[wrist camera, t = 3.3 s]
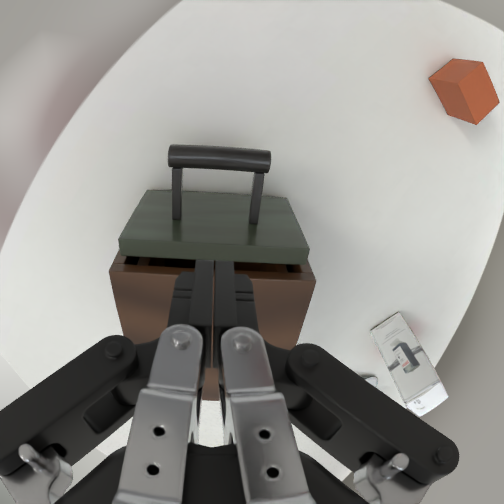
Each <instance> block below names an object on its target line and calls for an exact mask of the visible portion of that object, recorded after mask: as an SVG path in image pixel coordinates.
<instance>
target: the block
mask: <svg viewBox="0 0 504 504" xmlns="http://www.w3.org/2000/svg"><path fill="white" fill-rule="evenodd" d="M429 80H430V82H431V84H432V86H433V87H434V89H435V91H436V93H437V95H438V97H439V98H440V100H441V102H442V104H443V106H444V108H445V110H446V112H447V114H448V115H450V116H453V117H455V118H458V119H461V120H464V121H467V122H469V123H472V124H475V125H477V124H478V123H479V122H480V121H481V120H482V119H483V118H484V117H485V116H486V115H487V114H488V113H489V112H490V111H491V110H493V109H494V108H495V107H496V106H497V105H498V104H499V103H500V102H499V99H498V97H497V94H496V91H495V89H494V86H493V84H492V82H491V79H490V77H489V75H488V72H487V70H486V68H485V66H484V63H483V62H479V61H471V60H462V59H452V60H451V61H450V62H449V63H447V64H446V65H445V66H444V67H442V68H441V69H440V70H438V71H437V72H436V73H435V74H433V75H432V76H431V77H430V78H429Z"/></svg>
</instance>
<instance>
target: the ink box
mask: <svg viewBox="0 0 504 504" xmlns="http://www.w3.org/2000/svg"><path fill="white" fill-rule="evenodd" d="M370 333H371V335H372V337H373V339H374V341H375V343H376V345H377V347H378V349H379V351H380V353H381V355H382V357H383V359H384V361H385V363H386V365H387V367H388V369H389V371H390V373H391V376H392V378H393V380H394V382H395V384H396V387H397V389H398V391H399V393H400V395H401V398H402V400H403V402H404V403H405V404H406V407H408V408H409V409H410V410H411V411H412V412H413V413H415V414H416V415H417V416H422V415H424V414H425V413H427V412H429V411H430V410H432V409H434V408H435V407H436V406H438V405H439V404H440V403H442V402H443V401H444V400H445V399H447V398H448V394H447V392H446V390H445V388H444V386H443V384H442V382H441V380H440V378H439V376H438V374H437V373H436V371H435V369H434V367H433V365H432V364H431V362H430V360H429V358H428V357H427V355H426V353H425V351H424V350H423V348H422V346H421V345H420V343H419V341H418V340H417V338H416V337H415V335H414V333H413V332H412V330H411V329H410V327H409V326H408V324H407V323H406V321H405V320H404V318H403V317H402V315H401V314H400V312H398V313H397V314H395V315H393V316H392V317H390V318H389V319H387V320H386V321H384V322H383V323H382V324H380V325H379V326H378V327H376V328H374V329H373V330H371V331H370Z"/></svg>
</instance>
